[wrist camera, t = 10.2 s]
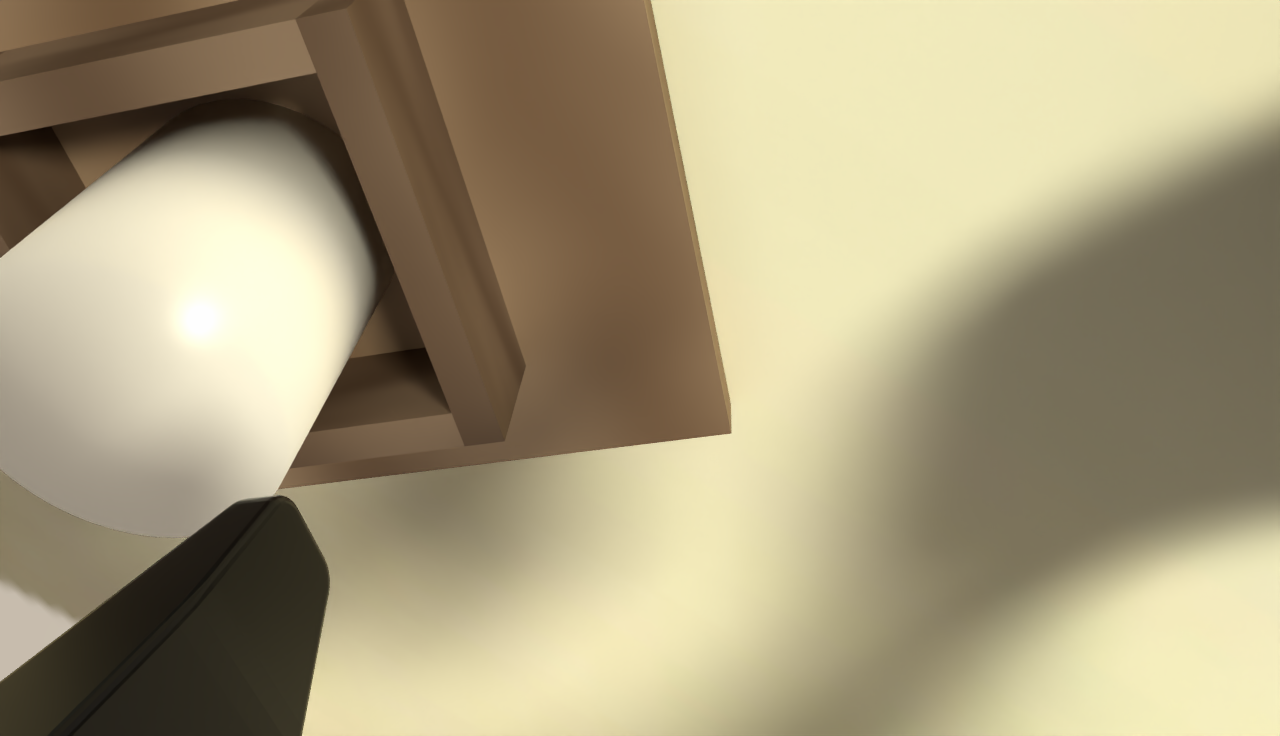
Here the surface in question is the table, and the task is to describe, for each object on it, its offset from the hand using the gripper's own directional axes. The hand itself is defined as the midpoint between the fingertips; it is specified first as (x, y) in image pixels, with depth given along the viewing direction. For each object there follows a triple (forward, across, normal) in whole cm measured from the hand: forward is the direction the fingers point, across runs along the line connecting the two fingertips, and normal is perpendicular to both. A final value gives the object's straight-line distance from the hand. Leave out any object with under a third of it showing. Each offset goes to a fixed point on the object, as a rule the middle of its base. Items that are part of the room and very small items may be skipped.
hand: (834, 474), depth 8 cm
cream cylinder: (+11, +10, +2) cm, 15 cm away
